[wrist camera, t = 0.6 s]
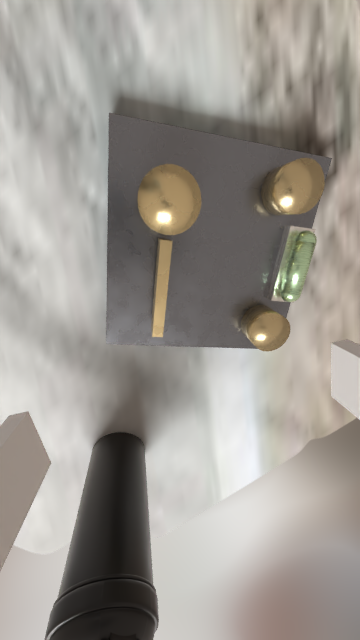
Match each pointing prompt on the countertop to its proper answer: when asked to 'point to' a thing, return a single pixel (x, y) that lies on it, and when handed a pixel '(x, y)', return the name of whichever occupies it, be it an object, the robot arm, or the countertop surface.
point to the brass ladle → (167, 223)
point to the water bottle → (109, 552)
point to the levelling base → (210, 238)
